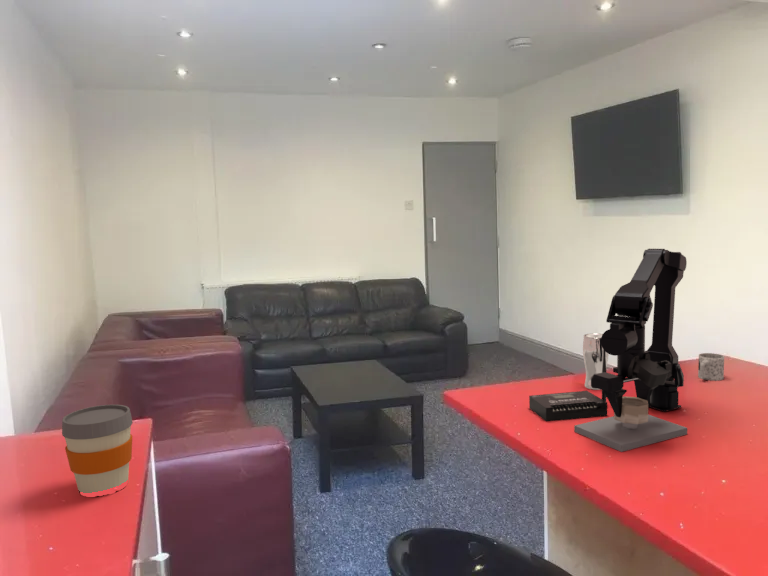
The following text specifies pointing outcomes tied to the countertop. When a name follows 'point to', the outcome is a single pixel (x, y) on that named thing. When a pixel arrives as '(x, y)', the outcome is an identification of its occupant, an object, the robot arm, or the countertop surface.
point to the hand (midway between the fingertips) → (630, 413)
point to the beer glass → (593, 357)
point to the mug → (711, 366)
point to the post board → (629, 432)
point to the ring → (633, 410)
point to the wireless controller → (569, 404)
